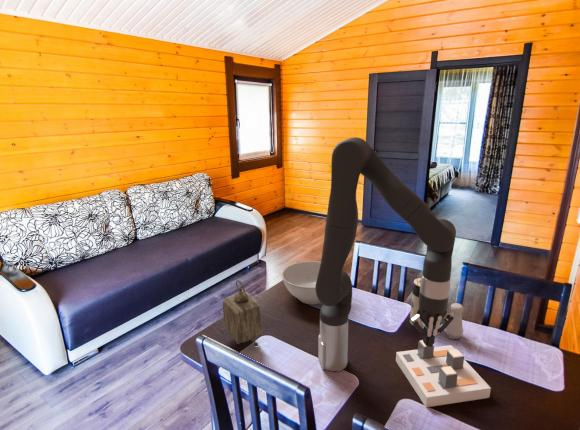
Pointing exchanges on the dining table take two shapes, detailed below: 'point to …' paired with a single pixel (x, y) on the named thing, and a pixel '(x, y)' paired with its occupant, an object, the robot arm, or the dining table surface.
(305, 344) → the dining table surface
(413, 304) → the travel mug
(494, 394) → the dining table surface
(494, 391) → the dining table surface
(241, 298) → the brown wooden lantern
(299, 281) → the decorative bowl
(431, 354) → the knob far
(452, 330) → the salt shaker
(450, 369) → the grey block
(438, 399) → the tray
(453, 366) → the knob mid
